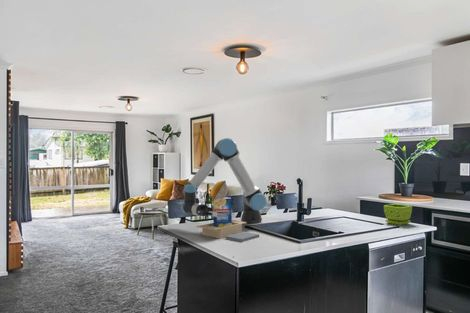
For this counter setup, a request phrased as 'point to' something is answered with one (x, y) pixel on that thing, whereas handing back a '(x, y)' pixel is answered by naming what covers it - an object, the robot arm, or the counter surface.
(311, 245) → the counter surface
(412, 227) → the counter surface
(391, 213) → the flower pot
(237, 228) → the wooden tray
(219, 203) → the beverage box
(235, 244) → the counter surface
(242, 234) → the mat
